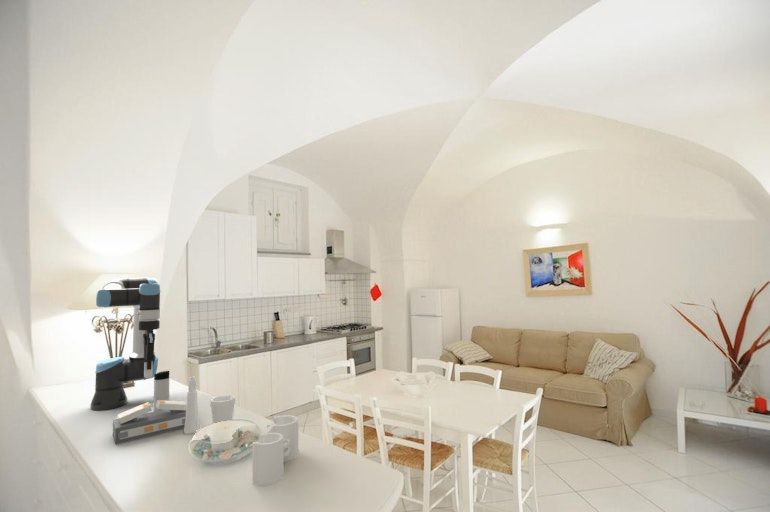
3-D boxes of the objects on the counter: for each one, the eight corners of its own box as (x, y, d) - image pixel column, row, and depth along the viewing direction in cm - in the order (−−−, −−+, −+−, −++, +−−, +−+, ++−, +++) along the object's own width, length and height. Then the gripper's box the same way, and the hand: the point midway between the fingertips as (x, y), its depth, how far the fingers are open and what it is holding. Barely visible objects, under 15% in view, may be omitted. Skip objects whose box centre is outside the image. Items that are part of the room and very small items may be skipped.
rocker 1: (118, 420, 154) (117, 414, 153) (149, 407, 161) (147, 401, 160) (120, 424, 149) (118, 418, 149) (151, 410, 156) (149, 404, 156)
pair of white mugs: (280, 485, 113) (280, 444, 114) (248, 486, 114) (248, 444, 115) (301, 448, 138) (301, 414, 139) (275, 448, 139) (275, 415, 139)
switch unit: (112, 434, 155) (113, 416, 155) (185, 418, 172) (186, 402, 172) (115, 444, 145) (115, 425, 145) (192, 426, 162) (192, 409, 162)
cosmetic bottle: (203, 429, 158) (203, 376, 159) (189, 435, 153) (190, 379, 154) (193, 427, 161) (194, 374, 162) (180, 432, 156) (180, 378, 157)
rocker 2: (155, 405, 162) (157, 399, 163) (183, 407, 169) (185, 400, 169) (158, 409, 157) (160, 402, 158) (186, 410, 164) (188, 404, 165)
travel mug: (162, 417, 174) (163, 372, 175) (150, 416, 175) (150, 372, 177) (172, 412, 180) (173, 369, 181) (160, 411, 181) (161, 369, 183)
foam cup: (210, 436, 151) (211, 403, 151) (209, 428, 159) (209, 397, 160) (236, 431, 155) (236, 399, 156) (233, 424, 163) (233, 393, 164)
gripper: (136, 319, 163) (135, 375, 162) (141, 322, 152) (139, 381, 151) (156, 318, 168) (155, 372, 166) (162, 320, 157) (161, 378, 155)
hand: (148, 376), depth 158 cm, fingers closed
